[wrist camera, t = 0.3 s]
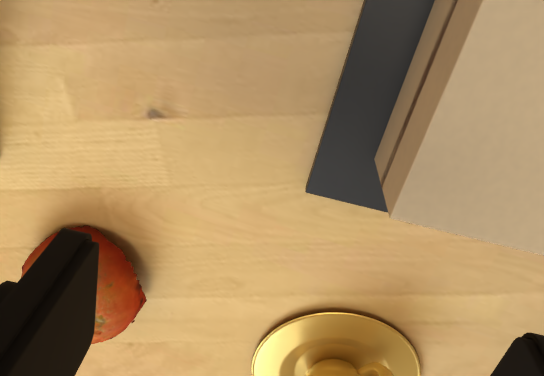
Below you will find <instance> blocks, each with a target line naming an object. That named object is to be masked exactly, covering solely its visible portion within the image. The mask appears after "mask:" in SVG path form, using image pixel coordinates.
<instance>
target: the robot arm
mask: <svg viewBox="0 0 544 376" xmlns="http://www.w3.org/2000/svg"><path fill="white" fill-rule="evenodd" d="M98 263H99V243H98V242H94V241H92V236H91V234H89V233H85V232H81V231H76V230H72V229H67V228H63V229H61V230H60V231H59V232H58V234H57V235H56V236H55V237H54V238H53V240H52V241H51V242H50V243H49V245H48V246H47V247H46V248H45V250H44V251H43V252H42V253H41V254H40V256H39V257H38V258H37V259H36V261H35V262H34V263H33V264H32V266H31V267H30V268H29V269H28V270H27V272H26V273H25V274H24V275H23V277H22V278H21V279H20V280H19V282H18V283H16V282H11V281H5V282H3V283H2V284H0V376H75V374H76V372H77V370H78V368H79V366H80V364H81V363H82V361H83V359H84V357H85V355H86V353H87V351H88V349H89V347H90V345H91V342H92V339H93V336H94V330H95V313H96V296H97V280H98ZM491 376H544V336H543V335H539V334H534V333H526V334H524V335H523V336H522V337H518V338H516V339H515V340H514V341H513V343H512V344H511V346H510V347H509V349H508V350H507V352H506V353H505V355H504V356H503V358H502V359H501V361H500V362H499V364H498V365H497V367H496V368H495V370H494V371H493V373H492V374H491Z"/></svg>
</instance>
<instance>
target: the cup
mask: <svg viewBox="0 0 544 376" xmlns="http://www.w3.org/2000/svg"><path fill="white" fill-rule="evenodd" d="M251 373H252V376H420V375H421V368H420V362H419V359H418V356H417V354H416V352H415V350H414V348H413V347H412V345H411V344H410V343H409V342H408V340H407V339H406V338H405V337H404V336H402V335H401V334H400V333H399V332H398V331H396V330H395V329H393V328H392V327H390V326H388V325H386V324H384V323H382V322H380V321H378V320H375V319H372V318H369V317H366V316H362V315H357V314H351V313H342V312H327V313H317V314H311V315H306V316H303V317H299V318H296V319H294V320H291V321H289V322H287V323H285V324H283V325H281V326H279V327H278V328H276V329H275V330H273V331H272V332H271V333H269V334H268V335H267V336H266V337H265V338H264V339H263V340H262V342H261V343H260V344H259V346H258V347H257V349H256V351H255V353H254V356H253V360H252V366H251Z"/></svg>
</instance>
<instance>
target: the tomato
mask: <svg viewBox="0 0 544 376" xmlns="http://www.w3.org/2000/svg"><path fill="white" fill-rule="evenodd" d="M68 229H72V230H76V231H81V232H85V233H89V234H91V236H92V241H94V242H98V243H99V263H98V280H97V296H96V313H95V330H94V336H93V339H92V342H91V344H95V343H98V342H103V341H106V340H108V339H112V338H113V337H115V336H117V335H118V334H120V333H121V332H123V331H124V330H125V329H126V328H127V326H128V325H129V324H130V323H131V322H132V323H133V322H134V320H133V319H134V318H135V317H136V315H137V313H138V312H139V311H140V309H141V308H142V306H143V305H144V303H145V302H146V301H147V300H146V297H145V294H144V293H143V291H142V287H141V285H140V284H139V280H136V277H137V274H135V273H133V266H132V267H131V262H128V261H126V256H125V255H124V254H123V253H122V250H121V249H120V248H118V247H116V246H115V245H114V244H113V243H111V242H109V241H107V239H106V238H105V236H104V235H102V234H101V233H100V232H99V231H98V230H97V229H95V228H91V227H90V226H83V228H81V227H75V228H68ZM57 234H58V232H57V233H55V234H53V235H51V236H50V237H48V238H47V239H46V240H45V241H44V242H42V243H41V244H40V245H39V246H38V247H37V248H36V249H35V250H34V251H33V252H32V253H31V254H30V255H29V257H28V258H27V260H26V261H25V263H24V265H23V266H22V276H21V278H22V277H23V275H24V274H25V273H26V272H27V270H28V269H29V268H30V267H31V266H32V264H33V263H34V262H35V261H36V259H37V258H38V257H39V256H40V254H41V253H42V252H43V251H44V250H45V248H46V247H47V246H48V245H49V243H50V242H51V241H52V240H53V238H54V237H55V236H56V235H57ZM132 320H133V321H132Z"/></svg>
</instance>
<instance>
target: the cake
mask: <svg viewBox="0 0 544 376" xmlns="http://www.w3.org/2000/svg"><path fill="white" fill-rule="evenodd" d="M306 193H310V194H314V195H319V196H323V197H327V198H331V199H335V200H339V201H343V202H347V203H351V204H355V205H359V206H364V207H368V208H372V209H376V210H380V211H384V212H388V213H389V217H390V218H391V219H395V220H399V221H403V222H407V223H411V224H415V225H419V226H423V227H428V228H432V229H436V230H440V231H444V232H448V233H452V234H456V235H460V236H465V237H469V238H473V239H477V240H481V241H485V242H489V243H493V244H497V245H501V246H506V247H510V248H514V249H518V250H522V251H526V252H530V253H534V254H538V255H542V256H544V0H364V3H363V6H362V9H361V12H360V16H359V19H358V22H357V25H356V28H355V32H354V35H353V38H352V41H351V44H350V48H349V51H348V54H347V57H346V60H345V64H344V67H343V70H342V73H341V76H340V79H339V83H338V86H337V89H336V92H335V95H334V99H333V102H332V105H331V108H330V111H329V115H328V118H327V121H326V124H325V127H324V130H323V134H322V137H321V140H320V143H319V146H318V150H317V153H316V156H315V159H314V162H313V166H312V169H311V172H310V175H309V178H308V182H307V185H306Z"/></svg>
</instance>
